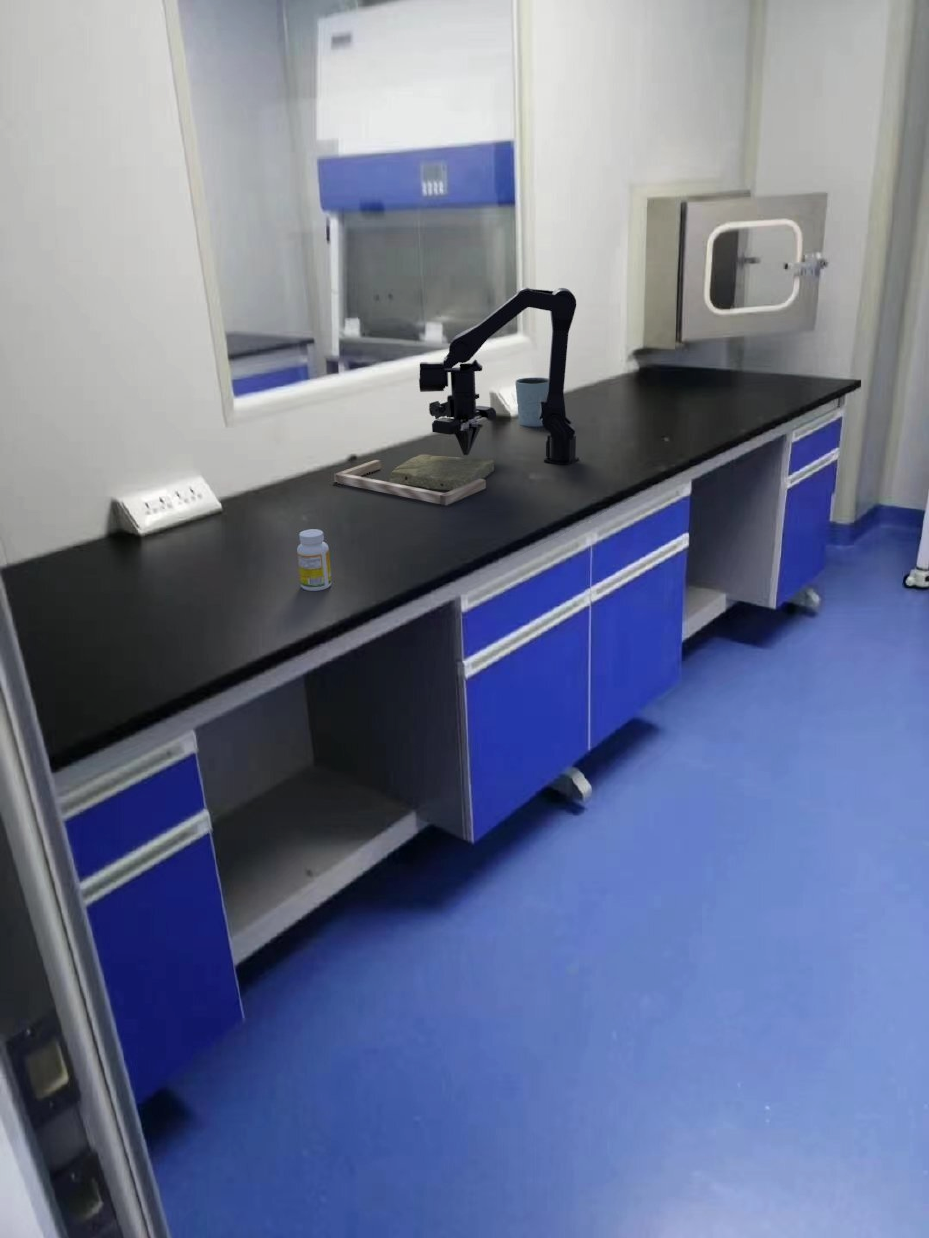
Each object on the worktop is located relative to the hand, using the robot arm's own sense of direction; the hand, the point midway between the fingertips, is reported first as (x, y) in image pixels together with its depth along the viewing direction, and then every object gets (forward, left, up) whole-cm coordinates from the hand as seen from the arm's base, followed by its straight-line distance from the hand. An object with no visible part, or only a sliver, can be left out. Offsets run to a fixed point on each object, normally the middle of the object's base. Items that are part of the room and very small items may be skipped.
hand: (466, 454), depth 228 cm
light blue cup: (+9, -43, -2) cm, 45 cm away
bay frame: (0, +22, -2) cm, 22 cm away
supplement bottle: (-25, +76, -2) cm, 79 cm away
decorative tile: (-2, +13, -3) cm, 13 cm away
